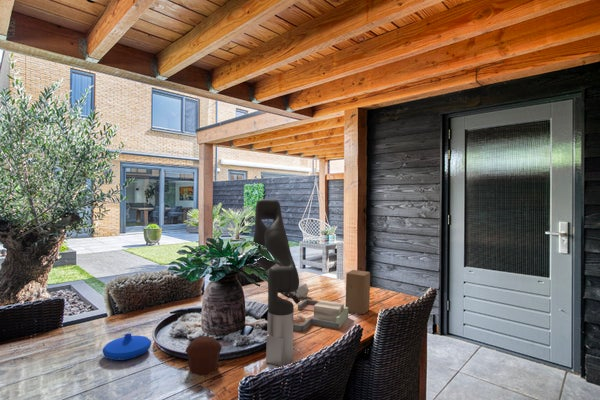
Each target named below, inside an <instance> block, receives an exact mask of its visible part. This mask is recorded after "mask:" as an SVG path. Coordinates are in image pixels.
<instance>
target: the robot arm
mask: <svg viewBox="0 0 600 400" xmlns="http://www.w3.org/2000/svg"><path fill="white" fill-rule="evenodd" d="M254 220H255V221H254V234H253V238H252V239H253V242H255V243H258V244H261V245H263V246H265V247H266V248H267V250H268V251H267V253H269V254H270V255H271V257H272V258H274V259H276V261H278V262H279V263H280V264H281V265H279V264H278V262H276V261H275V262H272V261H269V260H267V259H266V258H264V257H263V256H262V258H260V259H259V260H257V262H256V263H257V264H258V265H259V266H260V267H262V269H263V270H264V269H265V270H266V271H268V274H267V329H266V330H267V335H266V346H265V347H266V353H265V363H267V364H272V365H275V366H279V367H283V366H285V365H287V364H289V363H291V362H292V361H293V349H294V348H293V345H294V343H293V342H294V341H293V340H294V330H293V320H294V311H295V310H294V303H295V304H296V305H298V304H300V303H301V299H300V298H298V297H297V296H296V293H297V291H296V290H297V289H298V287H299V283H300V278H299V272H298V269H297V266H296V264H295V261H294V258H293V256H292V255H293V254H292V252H291V248H290V244H289V239H288V235H287V232H286V228H285V225H284V222H283V214H282V209H281V204H280V202H279V201H278V199H275V198H274V199H272V198H271V199H270V198H269V199H266V198H260V199H258V200H257V201H256V205H255V213H254ZM263 220H272V222H271V223H270V225H268V227H267V226H266V224H265V223H264V221H263ZM253 242H252V243H253ZM265 270H264V271H265ZM266 271H265V272H266ZM279 294H280V295H282V296H284V297H286V298H287V299H285V298H282V297H281V296H279ZM288 299H291V300H292V301H293V302H294V303H293V302H292V301H291V300H288Z"/></svg>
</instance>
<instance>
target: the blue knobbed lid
mask: <svg viewBox="0 0 600 400" xmlns="http://www.w3.org/2000/svg"><path fill="white" fill-rule="evenodd" d="M151 345H152V341H151V339H150V338H149V337H147V336H144V335H132V333H126V334H124V335H123V337H118V338H115V339H113V340H111V341H109V342H108V343H106V344H105V346H104V347H103V348H102V354H103V356H104V357H105V358H107V359H111V360H115V361H116V360H118V361H119V360H120V361H122V360H123V361H124V360H129V359H130V360H131V359H133V358H136V357H139V356H141V355H143V354H145V353H146V352H148V351H149V349H150V348H151Z"/></svg>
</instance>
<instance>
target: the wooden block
mask: <svg viewBox="0 0 600 400" xmlns="http://www.w3.org/2000/svg"><path fill="white" fill-rule="evenodd" d="M345 275H346V276H345V278H346V279H345V304H344V308H345V307H348V313H350V312H351V314H355V313H357V315H361V314H364V315H365V314H366V313H367V312H368V311H369V310H370V298H371V297H370V295H371V294H370V293H371V272H370V271H367V270H366V271H364V270H359V269H358V270H356V269H352V270H349V271H348V272H346V274H345Z"/></svg>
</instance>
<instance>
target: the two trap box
mask: <svg viewBox="0 0 600 400" xmlns="http://www.w3.org/2000/svg"><path fill="white" fill-rule="evenodd" d="M319 301H320V300H314V299H310V298H309V299H308V298H304V300H303V301H300V302H299V303H298V304H297V310H298V311H301V310H305V311H310V312H314V305H315V304H317V303H318V302H319ZM348 318H349V312H348V307H345V306H344V310H343V311H342V312H341V313H340V314H339V315H338V316H337V317H336V322H332V321H327V320H321V319H315V318H314V317H308V318H307V319H306V320H305V321H300V320H299V321H298V320H294V319H293V331H295V332H300V333H301V332H302V333H304V332H305V331H306V330H307V329H308V328H309V327H310V326H311V325H312V326H319V327H325V328H329V329H335V330H339V329H340V328H341V327H342V326H343V324H344V323H345V322H346V321H347V319H348Z"/></svg>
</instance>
